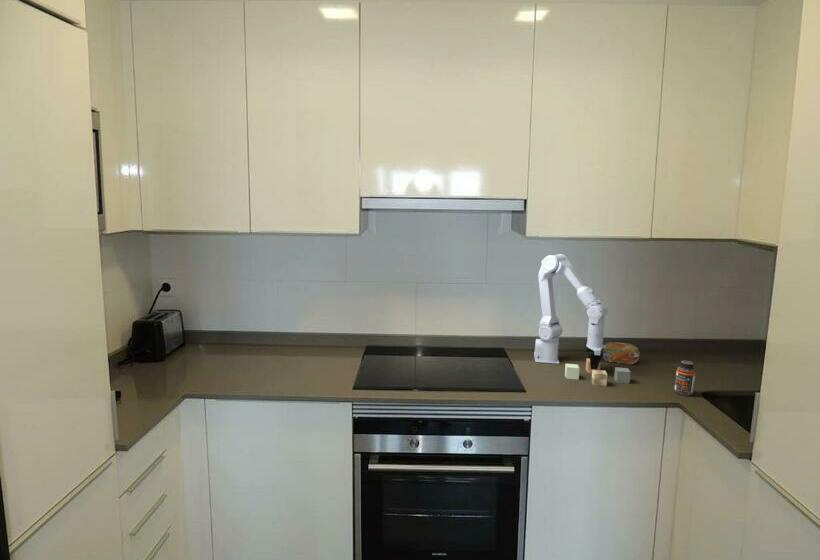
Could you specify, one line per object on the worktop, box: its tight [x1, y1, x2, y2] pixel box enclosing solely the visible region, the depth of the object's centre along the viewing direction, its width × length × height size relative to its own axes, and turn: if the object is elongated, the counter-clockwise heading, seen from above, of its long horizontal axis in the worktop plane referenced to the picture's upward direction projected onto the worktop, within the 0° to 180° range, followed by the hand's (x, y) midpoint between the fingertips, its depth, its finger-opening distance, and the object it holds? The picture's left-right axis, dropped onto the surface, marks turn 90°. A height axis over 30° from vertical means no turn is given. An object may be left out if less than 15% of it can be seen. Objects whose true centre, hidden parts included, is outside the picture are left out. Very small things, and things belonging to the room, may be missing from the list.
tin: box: [600, 341, 641, 365], centre depth 219 cm, size 15×3×8 cm, turn 72°
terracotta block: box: [585, 357, 601, 374], centre depth 207 cm, size 4×4×4 cm
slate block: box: [613, 366, 631, 384], centre depth 197 cm, size 4×4×4 cm
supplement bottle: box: [674, 360, 697, 397], centre depth 185 cm, size 6×6×11 cm
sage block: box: [564, 363, 580, 381], centre depth 199 cm, size 4×4×4 cm
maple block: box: [590, 369, 608, 387], centre depth 193 cm, size 4×4×4 cm
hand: (592, 367), depth 207 cm, fingers closed on terracotta block, 4 cm apart
